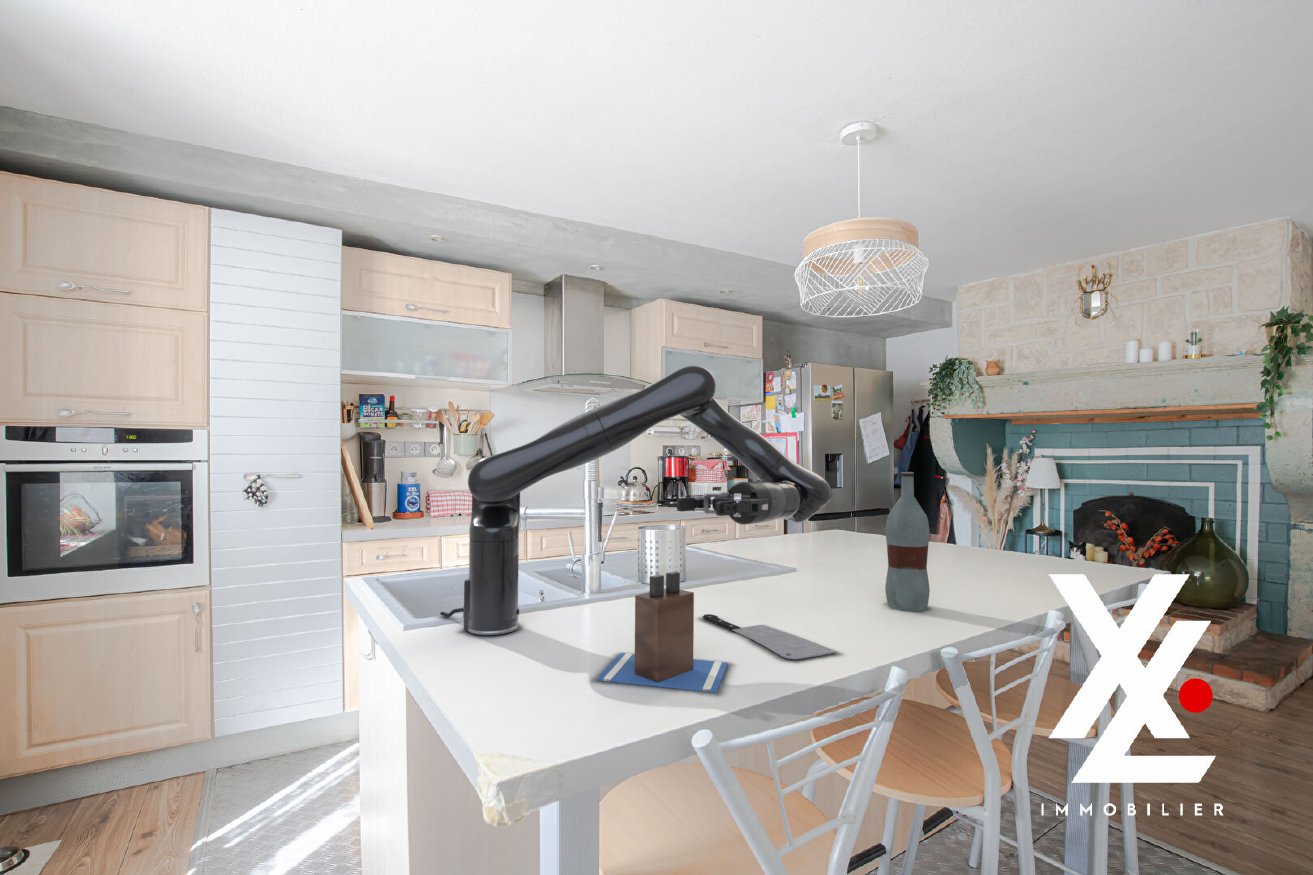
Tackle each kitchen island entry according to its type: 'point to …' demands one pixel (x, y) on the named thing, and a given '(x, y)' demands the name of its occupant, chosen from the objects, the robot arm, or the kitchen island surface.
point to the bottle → (907, 551)
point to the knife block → (664, 629)
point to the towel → (698, 679)
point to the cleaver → (776, 640)
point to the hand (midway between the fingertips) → (697, 506)
